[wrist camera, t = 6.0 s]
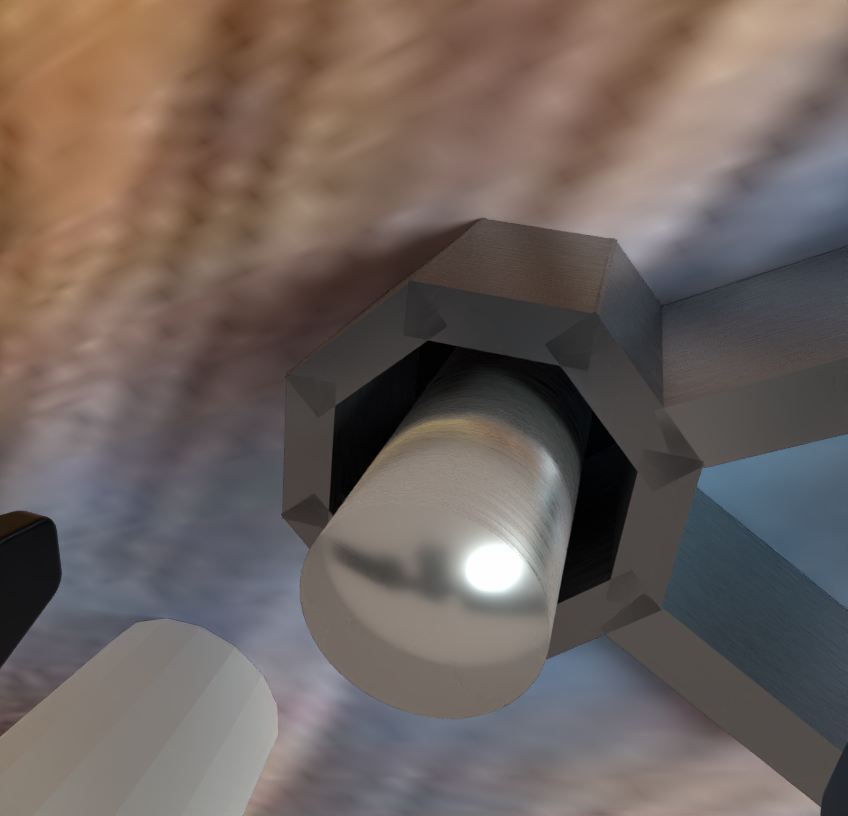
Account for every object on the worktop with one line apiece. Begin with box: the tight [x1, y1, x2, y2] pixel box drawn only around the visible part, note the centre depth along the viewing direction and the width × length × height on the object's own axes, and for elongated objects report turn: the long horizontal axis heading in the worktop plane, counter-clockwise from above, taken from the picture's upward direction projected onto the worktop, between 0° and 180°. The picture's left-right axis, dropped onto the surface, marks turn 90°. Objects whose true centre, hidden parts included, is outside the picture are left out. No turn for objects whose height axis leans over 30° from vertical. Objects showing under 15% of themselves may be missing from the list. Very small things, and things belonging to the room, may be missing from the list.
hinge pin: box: [300, 346, 593, 719], centre depth 12 cm, size 3×3×8 cm
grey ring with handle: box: [281, 218, 848, 807], centre depth 13 cm, size 14×13×5 cm
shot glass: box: [0, 618, 278, 816], centre depth 20 cm, size 7×7×7 cm
